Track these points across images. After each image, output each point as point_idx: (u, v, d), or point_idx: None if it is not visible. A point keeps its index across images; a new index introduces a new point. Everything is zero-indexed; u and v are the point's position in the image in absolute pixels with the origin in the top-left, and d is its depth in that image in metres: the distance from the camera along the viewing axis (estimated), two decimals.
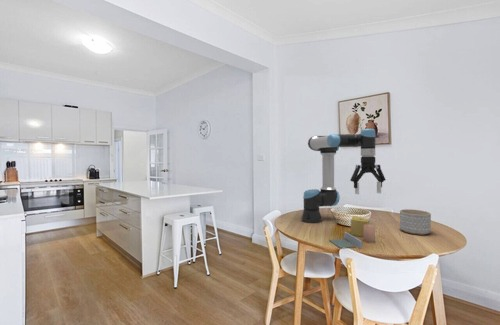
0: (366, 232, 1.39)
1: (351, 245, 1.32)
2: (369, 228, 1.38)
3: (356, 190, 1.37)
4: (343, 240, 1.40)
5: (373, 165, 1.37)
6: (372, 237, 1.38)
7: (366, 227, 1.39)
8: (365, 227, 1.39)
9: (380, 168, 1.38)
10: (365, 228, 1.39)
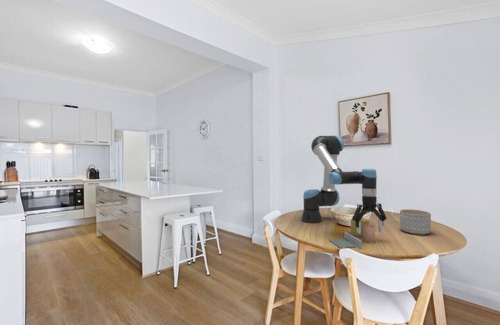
0: (366, 232, 1.39)
1: (351, 245, 1.32)
2: (369, 228, 1.38)
3: (358, 229, 1.39)
4: (343, 240, 1.40)
5: (374, 204, 1.39)
6: (372, 237, 1.38)
7: (366, 227, 1.39)
8: (365, 227, 1.39)
9: (381, 207, 1.40)
10: (365, 228, 1.39)
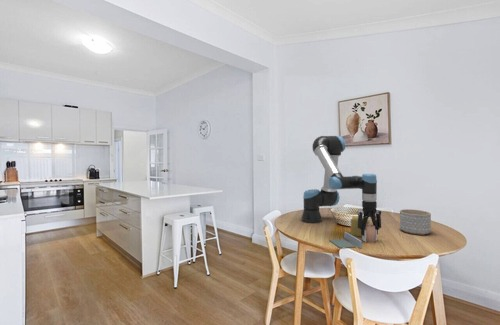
0: (366, 232, 1.39)
1: (351, 245, 1.32)
2: (369, 228, 1.38)
3: (363, 237, 1.40)
4: (343, 240, 1.40)
5: (375, 209, 1.39)
6: (372, 236, 1.38)
7: (366, 227, 1.39)
8: (365, 227, 1.39)
9: (380, 215, 1.40)
10: (365, 228, 1.39)
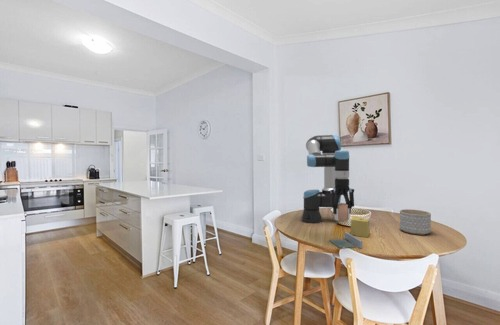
0: (338, 211, 1.34)
1: (351, 245, 1.32)
2: (341, 206, 1.33)
3: (335, 216, 1.35)
4: (343, 240, 1.40)
5: (347, 187, 1.34)
6: (344, 215, 1.33)
7: (338, 205, 1.34)
8: None
9: (353, 193, 1.35)
10: (338, 206, 1.34)
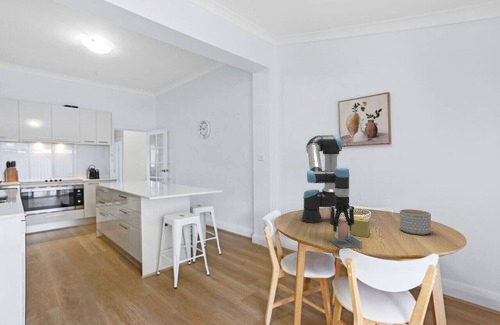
0: (338, 228, 1.34)
1: (351, 245, 1.32)
2: (341, 224, 1.33)
3: (335, 233, 1.35)
4: (343, 240, 1.40)
5: (347, 205, 1.35)
6: (344, 233, 1.33)
7: (338, 223, 1.34)
8: None
9: (353, 210, 1.35)
10: (338, 224, 1.34)
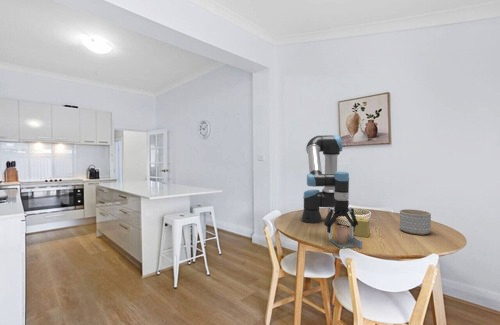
0: (338, 234, 1.34)
1: (351, 245, 1.32)
2: (341, 230, 1.33)
3: (329, 234, 1.35)
4: None
5: (346, 209, 1.35)
6: (344, 238, 1.33)
7: (338, 229, 1.34)
8: (337, 229, 1.35)
9: (353, 212, 1.35)
10: (338, 229, 1.34)
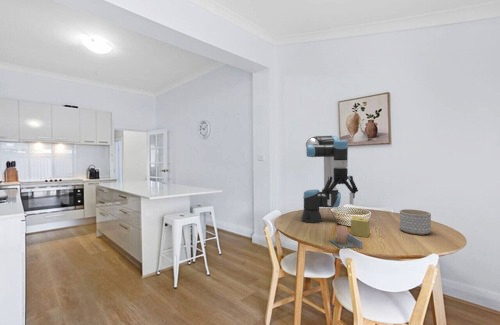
0: (338, 234, 1.34)
1: (351, 245, 1.32)
2: (341, 230, 1.33)
3: (328, 201, 1.38)
4: None
5: (345, 176, 1.37)
6: (344, 238, 1.33)
7: (338, 229, 1.34)
8: (337, 229, 1.35)
9: (352, 179, 1.38)
10: (338, 229, 1.34)
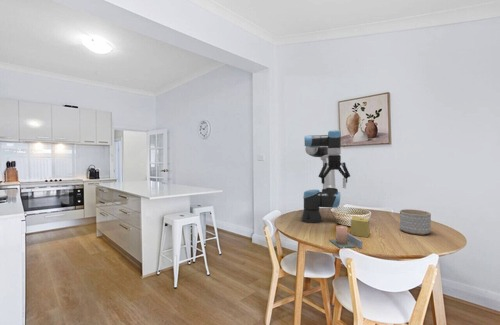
0: (338, 234, 1.34)
1: (351, 245, 1.32)
2: (341, 230, 1.33)
3: (323, 185, 1.53)
4: None
5: (339, 163, 1.53)
6: (344, 238, 1.33)
7: (338, 229, 1.34)
8: (337, 229, 1.35)
9: (345, 165, 1.53)
10: (338, 229, 1.34)
